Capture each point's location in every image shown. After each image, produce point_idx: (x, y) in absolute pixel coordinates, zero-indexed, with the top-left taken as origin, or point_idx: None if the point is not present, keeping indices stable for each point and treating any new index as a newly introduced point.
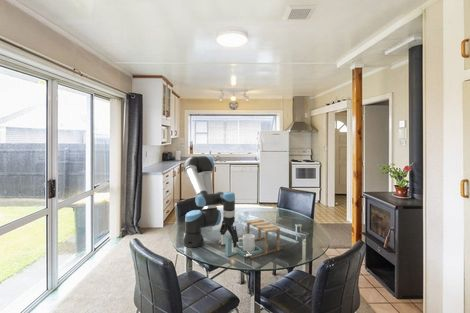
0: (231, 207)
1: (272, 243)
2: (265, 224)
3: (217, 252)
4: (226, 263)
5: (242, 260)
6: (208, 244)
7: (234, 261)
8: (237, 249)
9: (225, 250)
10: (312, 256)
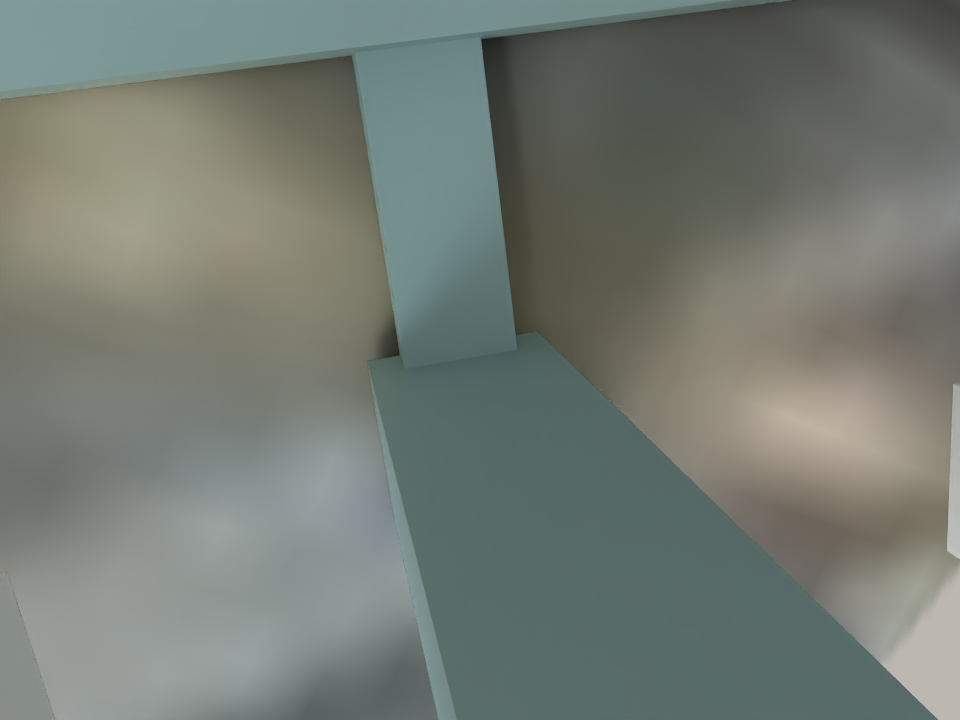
0: None
1: None
2: None
3: (98, 694)
4: (863, 621)
5: (949, 135)
6: None
7: (879, 389)
8: (425, 37)
9: (411, 596)
10: None
